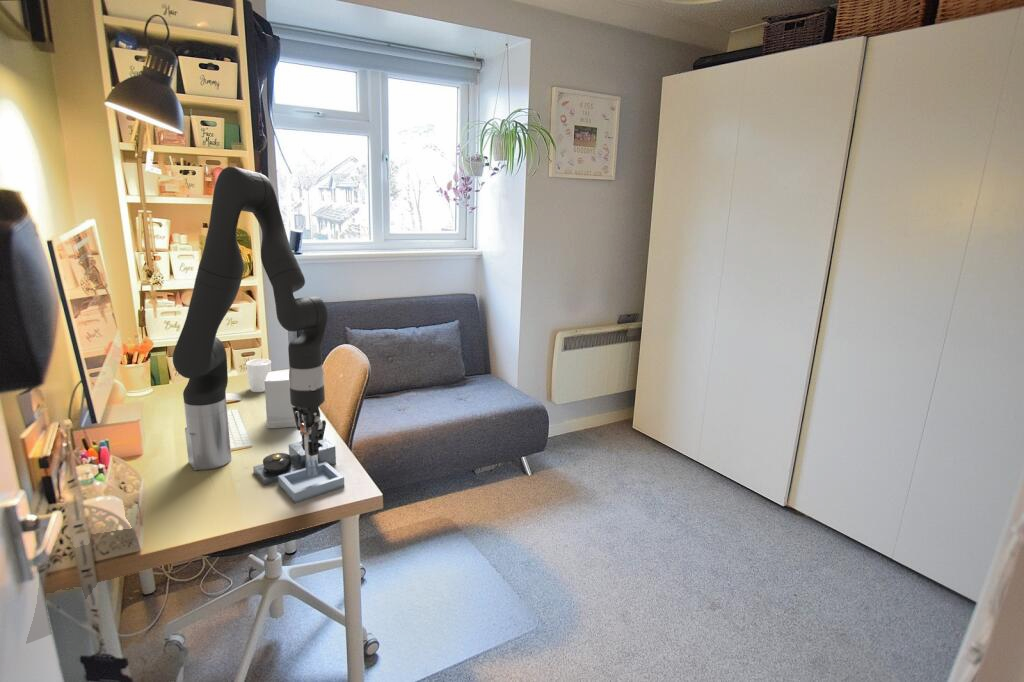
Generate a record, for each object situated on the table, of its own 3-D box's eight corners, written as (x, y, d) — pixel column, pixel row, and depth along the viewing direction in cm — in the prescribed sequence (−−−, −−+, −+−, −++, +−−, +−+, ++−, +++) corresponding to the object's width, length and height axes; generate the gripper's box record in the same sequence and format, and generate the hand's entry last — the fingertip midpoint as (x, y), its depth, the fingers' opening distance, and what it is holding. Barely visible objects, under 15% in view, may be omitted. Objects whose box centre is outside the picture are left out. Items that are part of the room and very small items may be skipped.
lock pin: (307, 478, 130) (305, 430, 126) (301, 472, 132) (298, 425, 129) (323, 473, 132) (321, 426, 129) (316, 467, 135) (314, 421, 132)
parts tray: (295, 503, 125) (294, 493, 125) (278, 485, 132) (278, 475, 132) (344, 486, 133) (344, 477, 132) (326, 470, 140) (326, 461, 140)
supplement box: (299, 427, 165) (296, 379, 161) (266, 429, 162) (263, 381, 158) (301, 415, 173) (299, 370, 169) (270, 417, 170) (267, 371, 167)
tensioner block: (265, 485, 132) (263, 466, 131) (253, 472, 138) (252, 454, 136) (336, 463, 144) (335, 446, 143) (322, 452, 150) (322, 435, 148)
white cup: (268, 383, 199) (266, 357, 196) (276, 390, 193) (274, 363, 191) (244, 388, 194) (242, 361, 191) (252, 394, 188) (250, 366, 186)
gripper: (278, 378, 129) (283, 446, 133) (303, 395, 119) (307, 468, 123) (310, 372, 134) (313, 438, 138) (336, 388, 124) (339, 458, 128)
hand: (310, 451), depth 131 cm, fingers closed on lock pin, 2 cm apart
